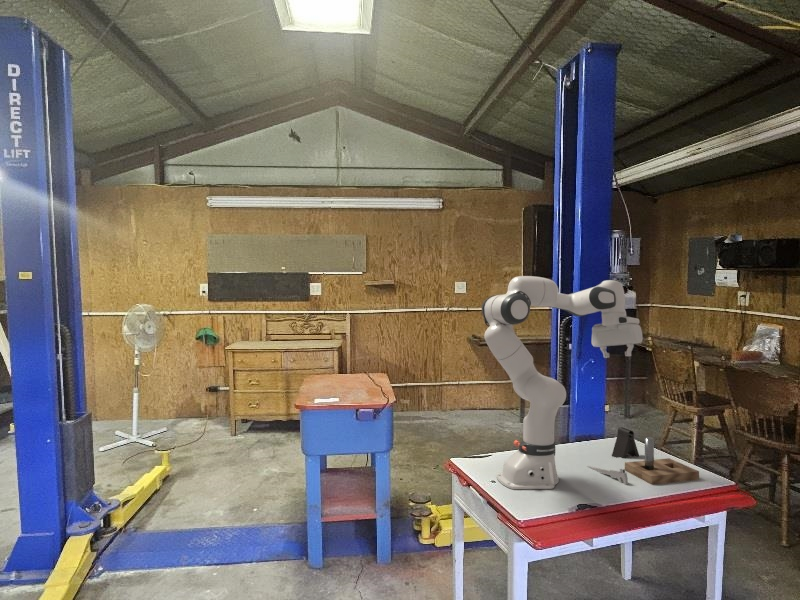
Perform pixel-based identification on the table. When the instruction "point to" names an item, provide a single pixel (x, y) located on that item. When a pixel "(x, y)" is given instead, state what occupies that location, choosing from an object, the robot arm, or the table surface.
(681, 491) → the table surface
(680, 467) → the hole block
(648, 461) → the peg
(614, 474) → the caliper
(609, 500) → the table surface
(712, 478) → the table surface
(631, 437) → the black a-frame stand
